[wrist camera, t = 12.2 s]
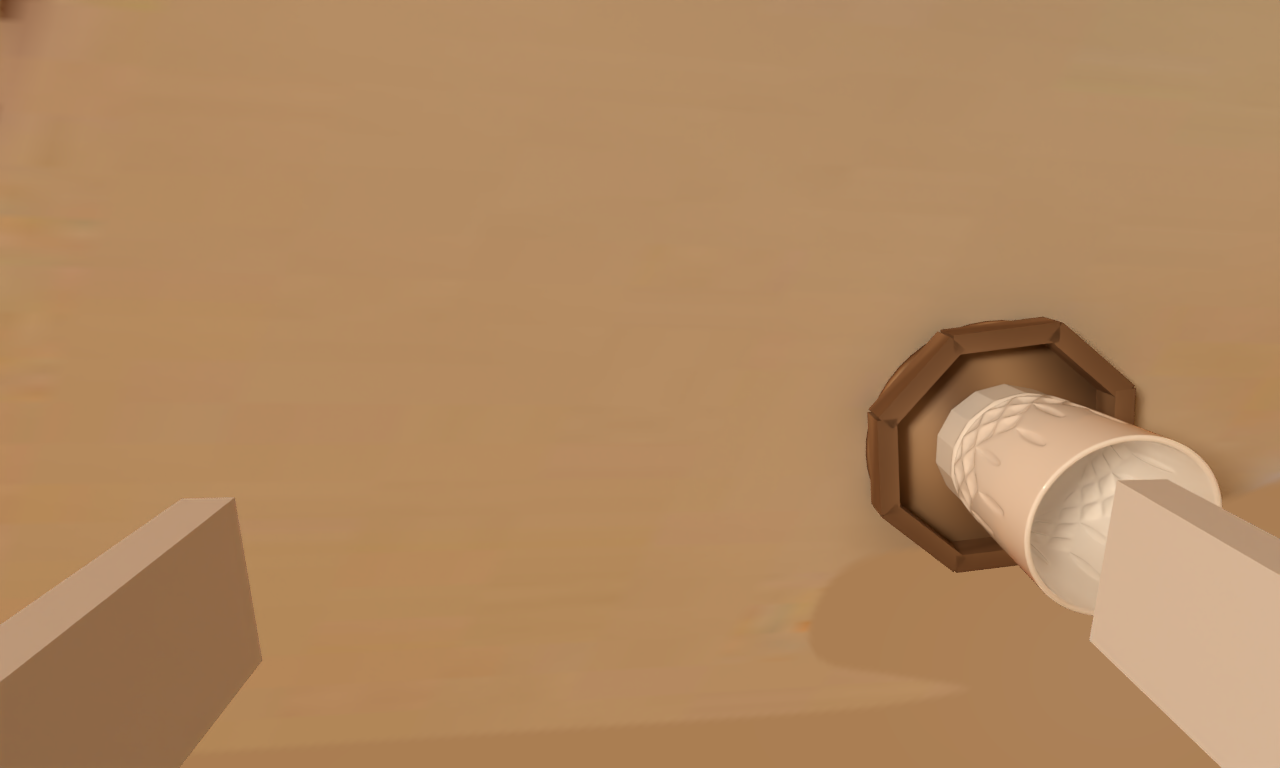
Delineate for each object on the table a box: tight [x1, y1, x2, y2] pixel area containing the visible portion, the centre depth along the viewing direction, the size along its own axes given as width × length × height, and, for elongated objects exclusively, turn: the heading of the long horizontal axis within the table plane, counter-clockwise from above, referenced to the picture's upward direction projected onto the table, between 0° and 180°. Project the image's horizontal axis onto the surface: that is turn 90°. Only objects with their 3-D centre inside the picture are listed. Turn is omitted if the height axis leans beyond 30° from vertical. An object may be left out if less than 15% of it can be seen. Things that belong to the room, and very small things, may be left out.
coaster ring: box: [866, 317, 1136, 573], centre depth 38 cm, size 13×13×2 cm
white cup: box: [936, 384, 1222, 616], centre depth 33 cm, size 8×8×10 cm
